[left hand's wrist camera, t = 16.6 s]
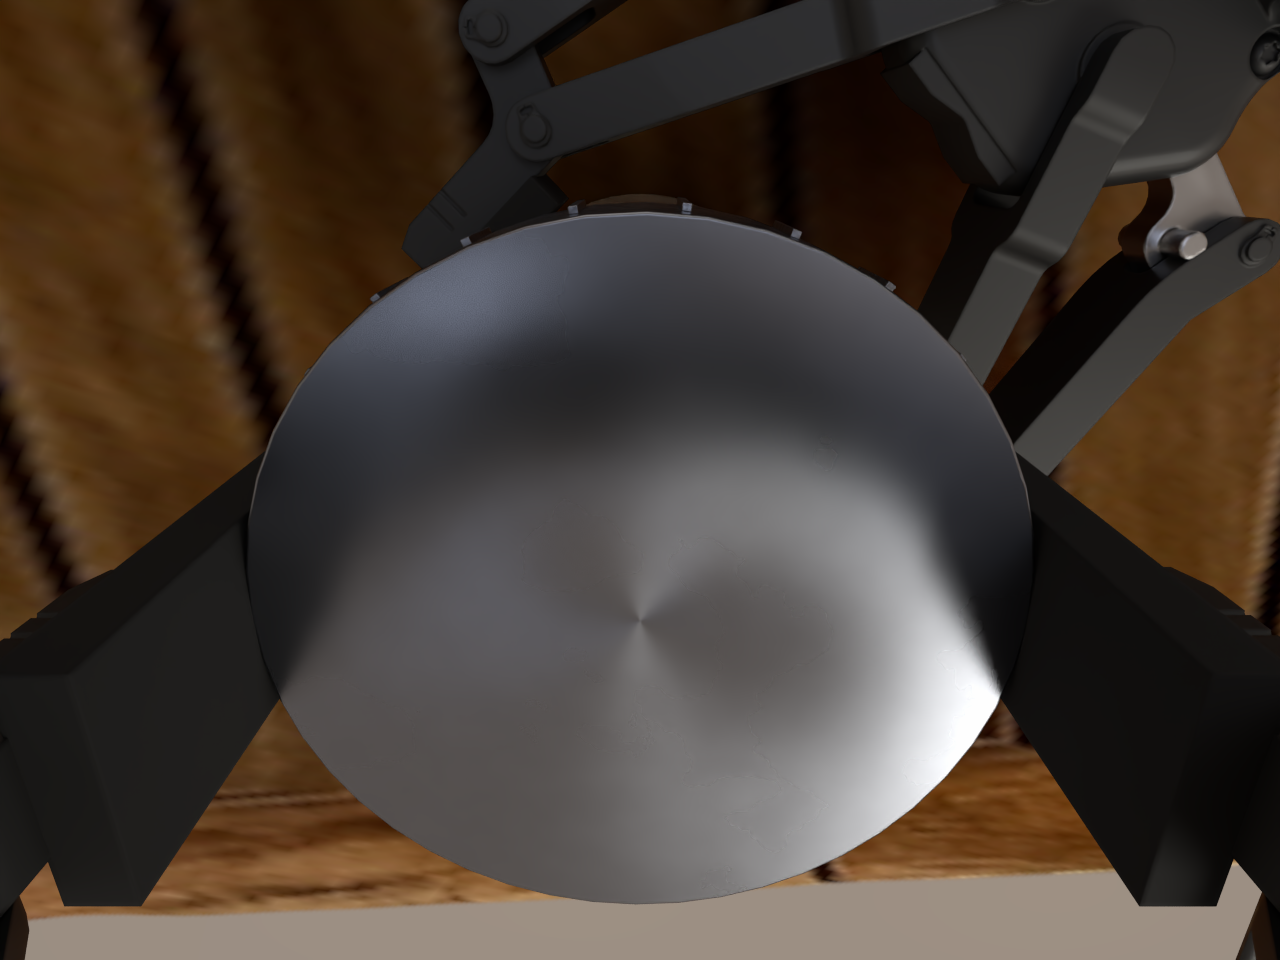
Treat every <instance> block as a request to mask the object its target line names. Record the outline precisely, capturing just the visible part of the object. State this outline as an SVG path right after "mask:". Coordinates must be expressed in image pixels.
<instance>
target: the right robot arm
mask: <svg viewBox="0 0 1280 960" xmlns="http://www.w3.org/2000/svg"><path fill="white" fill-rule="evenodd" d="M626 1H627V0H468V1H467V3H466V4H465V5H464V6H463V8H462V11H461V14H460V17H459V35H460V38H461V40H462V43H463V45H464V47H465V48H466V49H467V51H468V52H469V53H470V54H471V55H472V58H473V60H474V62H475V64H476V66H477V69H478V71H479V73H480V75H481V77H482V79H483V82H484V84H485V86H486V88H487V90H488V93H489V95H490V98H491V101H492V104H493V113H494V116H493V124H492V128H491V130H490V133H489V135H488V137H487V138H486V139H485V141H484V142H483V144H482V145H481V146H480V147H479V148H478V149H477V150H476V151H475V152H474V154H473V155H472V156H471V157H470V158H469V159H468V160H467V161H466V162H465V164H464V165H463V166H462V167H461V168H460V169H459V170H458V171H457V172H456V174H455V175H454V176H453V177H452V178H451V179H450V180H449V181H448V182H447V184H446V185H445V186H444V187H443V188H442V190H441V191H440V192H438V194H437V195H436V196H435V197H434V198H433V199H432V200H431V201H430V202H429V204H428V205H427V206H426V207H425V208H424V209H423V210H422V211H421V212H420V214H419V215H418V216H417V217H416V218H415V219H414V220H413V221H412V222H411V224H410V225H409V228H408V231H407V234H406V237H405V240H404V243H403V246H402V250H403V251H404V252H405V253H407V254H408V255H409V256H410V257H411V258H412V259H413V260H414V261H415V262H416V263H417V264H418V265H419V266H420V267H421V268H422V269H423V268H425V267H427V266H429V265H431V264H433V263H435V262H437V261H439V260H440V259H442V258H444V257H446V256H448V255H450V254H452V253H454V252H456V251H458V250H460V249H462V248H464V247H463V246H462V244H461V242H460V240H461V239H463V238H465V237H468V236H470V235H472V234H474V233H476V232H479V231H481V230H483V229H485V228H487V227H490V230H491V232H492V233H493V232H495V231H498V230H501V229H504V228H506V227H509V226H512V225H515V224H518V223H521V222H524V221H527V220H530V219H532V218H535V217H538V216H541V215H544V214H549V213H554V212H556V211H557V210H558V209H559V208H560V207H561V206H562V205H563V204H564V203H565V202H566V201H567V200H568V199H569V198H568V197H567V196H566V195H565V194H564V193H563V192H562V191H561V189H560V188H559V187H558V186H557V185H556V184H555V183H554V182H553V181H552V180H551V179H550V178H549V177H548V176H547V174H546V173H547V172H548V171H549V170H550V168H551V167H552V166H553V165H554V164H555V163H556V162H557V161H558V160H560V159H561V158H564V157H567V156H570V155H573V154H576V153H579V152H582V151H585V150H588V149H591V148H594V147H597V146H600V145H603V144H606V143H609V142H612V141H615V140H618V139H621V138H624V137H627V136H630V135H633V134H636V133H639V132H642V131H645V130H648V129H651V128H654V127H657V126H660V125H663V124H665V123H668V122H671V121H674V120H677V119H680V118H683V117H686V116H689V115H692V114H695V113H698V112H701V111H704V110H707V109H710V108H713V107H716V106H719V105H722V104H725V103H728V102H731V101H734V100H737V99H740V98H743V97H746V96H749V95H752V94H755V93H758V92H761V91H764V90H767V89H770V88H773V87H775V86H778V85H781V84H784V83H787V82H790V81H793V80H796V79H799V78H802V77H805V76H808V75H811V74H814V73H817V72H820V71H824V70H827V69H831V68H834V67H837V66H840V65H843V64H846V63H849V62H852V61H855V60H858V59H861V58H864V57H867V56H870V55H873V54H876V53H879V52H882V55H883V60H884V63H885V66H886V68H885V69H884V70H883V71H882V72H881V73H880V74H881V75H882V77H883V78H884V79H885V81H886V82H887V83H888V84H889V86H890V87H891V88H892V90H893V91H894V92H895V94H896V95H897V96H898V98H899V99H900V100H901V102H903V103H904V104H906V105H907V106H908V107H910V108H911V109H913V110H914V111H915V112H917V113H918V114H919V115H921V116H922V117H924V118H925V119H926V120H928V121H929V122H930V124H931V126H932V128H933V131H934V133H935V136H936V139H937V141H938V144H939V147H940V149H941V152H942V155H943V157H944V159H945V160H946V161H947V163H948V164H949V165H950V167H951V168H952V169H953V170H954V172H955V173H956V174H957V176H958V177H959V178H960V180H961V181H962V182H963V183H969V184H970V186H969V188H968V190H967V192H966V194H965V196H964V198H963V200H962V202H961V204H960V207H959V209H958V211H957V213H956V215H955V218H954V220H953V224H952V238H951V242H950V244H949V247H948V249H947V251H946V253H945V255H944V257H943V259H942V261H941V263H940V265H939V267H938V269H937V271H936V274H935V276H934V278H933V280H932V282H931V284H930V286H929V288H928V290H927V292H926V294H925V296H924V298H923V300H922V302H921V304H920V306H919V309H918V312H920V313H921V314H922V315H923V316H924V317H925V318H926V319H927V320H928V321H929V323H930V324H931V325H932V326H933V327H934V328H935V329H936V330H937V331H938V332H939V333H940V334H941V335H942V336H943V337H944V338H945V339H946V340H947V341H948V342H949V343H950V344H951V345H952V346H953V347H954V348H955V349H956V350H957V351H958V352H960V353H961V354H963V356H964V357H965V359H966V361H965V362H966V364H967V365H968V366H969V368H970V369H971V371H972V372H973V373H974V375H975V376H976V378H977V379H978V380H979V382H980V383H981V385H982V386H983V384H984V382H985V380H986V378H987V376H988V374H989V373H990V371H991V369H992V367H993V365H994V363H995V361H996V360H997V358H998V356H999V354H1000V352H1001V350H1002V348H1003V346H1004V345H1005V343H1006V341H1007V339H1008V337H1009V335H1010V333H1011V331H1012V330H1013V328H1014V326H1015V324H1016V322H1017V320H1018V318H1019V316H1020V315H1021V313H1022V311H1023V309H1024V307H1025V305H1026V303H1027V301H1028V300H1029V298H1030V296H1031V294H1032V292H1033V290H1034V288H1035V286H1036V285H1037V283H1038V281H1039V279H1040V277H1041V276H1042V274H1043V273H1044V271H1045V270H1046V269H1047V268H1048V267H1050V266H1052V265H1053V264H1055V263H1056V262H1058V261H1059V260H1060V259H1061V258H1062V257H1063V256H1064V255H1065V253H1066V252H1067V250H1068V249H1069V247H1070V246H1071V244H1072V242H1073V240H1074V238H1075V236H1076V235H1077V233H1078V231H1079V229H1080V227H1081V225H1082V223H1083V222H1084V220H1085V218H1086V216H1087V214H1088V212H1089V210H1090V209H1091V207H1092V205H1093V203H1094V201H1095V199H1096V198H1097V196H1098V194H1099V192H1100V190H1101V188H1102V187H1108V186H1116V185H1123V184H1130V183H1137V182H1144V181H1147V184H1148V198H1147V201H1146V205H1145V206H1144V208H1143V210H1142V211H1141V213H1140V214H1139V215H1138V216H1137V217H1136V218H1135V219H1134V220H1133V221H1132V222H1131V223H1130V224H1128V225H1126V226H1125V227H1123V228H1122V230H1121V231H1120V233H1119V236H1118V241H1119V245H1120V246H1121V247H1122V251H1121V252H1119V253H1118V254H1117V255H1115V256H1114V257H1113V258H1111V259H1110V260H1108V261H1107V262H1106V263H1105V264H1104V265H1103V266H1102V267H1101V268H1099V269H1098V270H1097V271H1096V272H1095V273H1094V274H1093V275H1092V276H1091V277H1090V278H1089V279H1088V280H1087V281H1086V282H1085V283H1084V284H1083V285H1082V286H1081V287H1080V288H1079V289H1078V291H1077V292H1076V293H1075V294H1074V295H1073V296H1072V298H1071V299H1070V300H1069V301H1068V302H1067V303H1066V305H1065V306H1064V307H1063V308H1062V309H1061V310H1060V312H1059V313H1058V314H1057V315H1056V316H1055V317H1054V319H1053V320H1052V321H1051V322H1050V323H1049V325H1048V326H1047V327H1046V328H1045V329H1044V330H1043V332H1042V333H1041V334H1040V335H1039V336H1038V337H1037V339H1036V340H1035V341H1034V342H1033V343H1032V344H1031V346H1030V347H1029V348H1028V349H1027V350H1026V352H1025V353H1024V354H1023V355H1022V356H1021V357H1020V359H1019V360H1018V361H1017V362H1016V363H1015V364H1014V366H1013V367H1012V368H1011V369H1010V370H1009V371H1008V373H1007V374H1006V375H1005V376H1004V377H1003V379H1002V380H1001V381H1000V382H999V383H998V384H997V386H996V387H995V388H994V389H993V390H992V391H991V393H990V394H989V396H990V398H991V400H992V402H993V404H994V406H995V408H996V410H997V412H998V414H999V416H1000V418H1001V420H1002V422H1003V424H1004V426H1005V428H1006V430H1007V432H1008V434H1009V436H1010V438H1011V440H1012V443H1013V446H1014V449H1015V451H1016V452H1017V453H1018V454H1020V455H1021V456H1022V457H1023V458H1025V459H1026V460H1027V461H1029V462H1030V463H1031V464H1032V465H1034V466H1035V467H1036V468H1037V469H1039V470H1040V471H1041V472H1043V473H1044V474H1045V475H1046V476H1048V475H1049V474H1050V473H1051V471H1052V470H1053V469H1054V468H1055V467H1056V466H1057V465H1058V464H1059V463H1060V462H1061V461H1062V459H1063V458H1064V457H1065V456H1066V455H1067V454H1068V453H1069V452H1070V451H1071V450H1072V448H1073V447H1074V446H1075V445H1076V444H1077V443H1078V442H1079V441H1080V440H1081V439H1082V438H1083V436H1084V435H1085V434H1086V433H1087V432H1088V431H1089V430H1090V429H1091V428H1092V427H1093V426H1094V424H1095V423H1096V422H1097V421H1098V420H1099V419H1100V418H1101V417H1102V416H1103V415H1104V414H1105V412H1106V411H1107V410H1108V409H1109V408H1110V407H1111V406H1112V405H1113V404H1114V403H1115V402H1116V400H1117V399H1118V398H1119V397H1120V396H1121V395H1122V394H1123V393H1124V392H1125V391H1126V390H1127V388H1128V387H1129V386H1130V385H1131V384H1132V383H1133V382H1134V381H1135V380H1136V379H1137V378H1138V376H1139V375H1140V374H1141V373H1142V372H1143V371H1144V370H1145V369H1146V368H1147V367H1148V366H1149V364H1150V363H1151V362H1152V361H1153V360H1154V359H1155V358H1156V357H1157V356H1158V355H1159V354H1160V352H1161V351H1162V350H1163V349H1164V348H1165V347H1166V346H1167V345H1168V344H1169V343H1170V341H1171V340H1172V339H1173V338H1174V337H1175V336H1176V335H1177V334H1178V333H1179V332H1180V331H1181V329H1182V328H1183V327H1184V326H1185V325H1186V324H1187V323H1188V322H1189V321H1190V320H1191V319H1192V318H1194V317H1196V316H1197V315H1199V314H1200V313H1202V312H1204V311H1205V310H1207V309H1208V308H1210V307H1212V306H1213V305H1215V304H1216V303H1218V302H1220V301H1221V300H1223V299H1224V298H1226V297H1228V296H1229V295H1231V294H1233V293H1234V292H1236V291H1237V290H1239V289H1241V288H1242V287H1244V286H1245V285H1247V284H1249V283H1250V282H1252V281H1253V280H1255V279H1257V278H1258V277H1260V276H1261V275H1263V274H1265V273H1266V272H1267V271H1269V270H1270V269H1271V268H1272V267H1273V266H1274V265H1276V263H1277V262H1278V260H1279V259H1280V225H1279V224H1278V223H1277V222H1275V221H1272V220H1270V219H1264V218H1254V217H1246V216H1245V215H1244V214H1243V212H1242V210H1241V207H1240V205H1239V203H1238V200H1237V198H1236V196H1235V194H1234V191H1233V189H1232V187H1231V184H1230V182H1229V180H1228V178H1227V175H1226V173H1225V171H1224V168H1223V166H1222V164H1221V162H1220V159H1219V157H1218V155H1217V152H1218V151H1219V150H1220V149H1221V147H1222V146H1223V145H1224V144H1225V142H1226V141H1227V139H1228V138H1229V136H1230V134H1231V133H1232V131H1233V129H1234V127H1235V125H1236V123H1237V121H1238V119H1239V117H1240V116H1241V114H1242V112H1243V111H1244V109H1245V107H1246V106H1247V105H1248V103H1249V102H1250V100H1251V99H1252V98H1253V96H1254V95H1255V94H1256V93H1257V92H1258V90H1259V89H1260V88H1261V87H1262V86H1263V85H1264V84H1265V83H1266V82H1267V81H1269V80H1270V79H1271V78H1272V77H1274V76H1275V75H1276V74H1278V73H1279V72H1280V0H803V1H800V2H797V3H794V4H791V5H788V6H785V7H783V8H780V9H777V10H774V11H771V12H768V13H765V14H762V15H760V16H757V17H754V18H751V19H748V20H745V21H742V22H739V23H736V24H734V25H731V26H728V27H725V28H722V29H719V30H716V31H713V32H711V33H708V34H705V35H702V36H699V37H696V38H693V39H690V40H687V41H685V42H682V43H679V44H676V45H673V46H670V47H667V48H664V49H662V50H659V51H656V52H653V53H650V54H647V55H644V56H641V57H639V58H636V59H633V60H630V61H627V62H624V63H621V64H618V65H615V66H613V67H610V68H607V69H604V70H601V71H598V72H595V73H592V74H590V75H587V76H584V77H581V78H578V79H575V80H572V81H569V82H566V83H564V84H561V85H558V86H555V84H554V81H553V79H552V77H551V74H550V72H549V70H548V67H547V65H546V63H545V60H544V58H545V57H546V56H548V55H549V54H550V53H552V52H553V51H555V50H556V49H558V48H559V47H561V46H562V45H563V44H565V43H566V42H568V41H569V40H571V39H572V38H574V37H575V36H576V35H578V34H579V33H581V32H582V31H584V30H585V29H587V28H588V27H590V26H591V25H592V24H594V23H595V22H597V21H598V20H600V19H601V18H603V17H604V16H605V15H607V14H608V13H610V12H611V11H613V10H614V9H616V8H617V7H618V6H620V5H621V4H623V3H624V2H626Z"/></svg>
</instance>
